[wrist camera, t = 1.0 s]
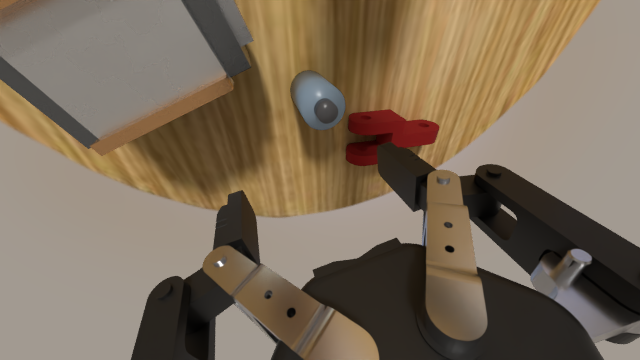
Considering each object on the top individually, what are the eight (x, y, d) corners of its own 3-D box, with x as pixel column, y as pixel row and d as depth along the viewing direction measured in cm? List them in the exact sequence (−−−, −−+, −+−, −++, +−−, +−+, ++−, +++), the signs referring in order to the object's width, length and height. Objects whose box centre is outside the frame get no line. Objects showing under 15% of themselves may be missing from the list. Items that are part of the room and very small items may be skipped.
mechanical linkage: (341, 152, 41) (352, 167, 37) (344, 113, 37) (356, 125, 33) (419, 142, 44) (437, 154, 40) (430, 105, 40) (451, 115, 36)
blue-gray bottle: (318, 63, 31) (342, 79, 24) (330, 98, 34) (355, 122, 27) (283, 80, 31) (296, 102, 24) (299, 114, 34) (315, 142, 27)
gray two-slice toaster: (205, -59, 22) (175, -115, 12) (259, 50, 28) (268, 72, 18) (48, 22, 22) (-107, 31, 12) (135, 112, 29) (79, 166, 19)
